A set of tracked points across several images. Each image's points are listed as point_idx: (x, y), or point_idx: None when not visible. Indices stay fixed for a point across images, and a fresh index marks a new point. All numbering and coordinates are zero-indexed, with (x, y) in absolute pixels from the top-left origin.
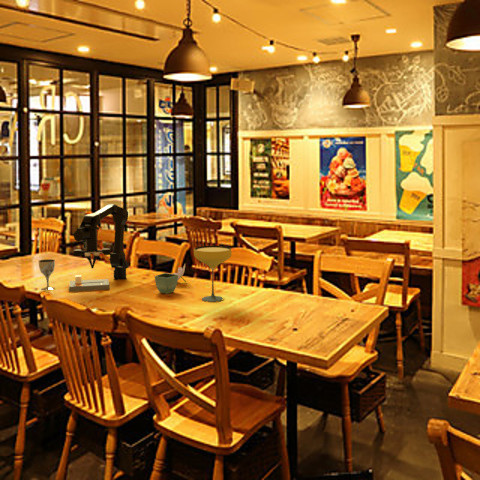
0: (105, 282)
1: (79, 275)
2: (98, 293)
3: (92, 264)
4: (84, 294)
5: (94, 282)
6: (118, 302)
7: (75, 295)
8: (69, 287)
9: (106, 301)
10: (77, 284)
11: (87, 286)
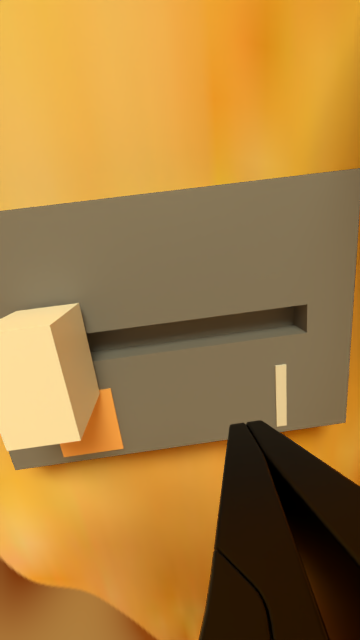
0: (319, 340)
1: (36, 368)
2: None
3: (276, 471)
4: (160, 510)
5: (214, 314)
6: None
7: (106, 528)
8: (20, 465)
9: None
10: None
11: (166, 444)
